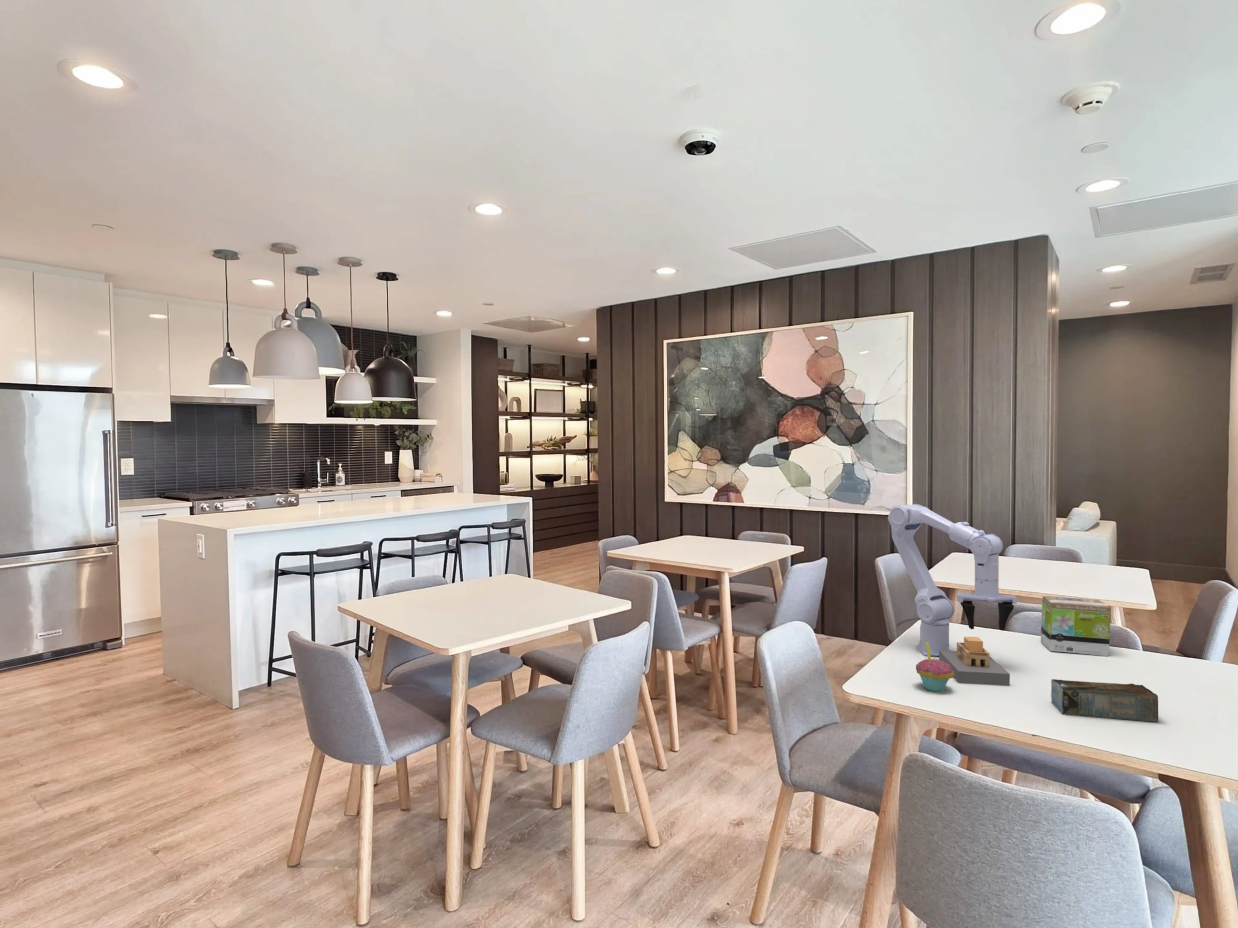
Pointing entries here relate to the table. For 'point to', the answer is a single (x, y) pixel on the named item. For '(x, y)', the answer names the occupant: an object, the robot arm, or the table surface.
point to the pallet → (972, 656)
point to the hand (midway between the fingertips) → (986, 628)
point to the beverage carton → (1104, 700)
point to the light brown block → (973, 644)
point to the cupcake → (934, 672)
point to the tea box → (1075, 625)
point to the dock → (975, 671)
